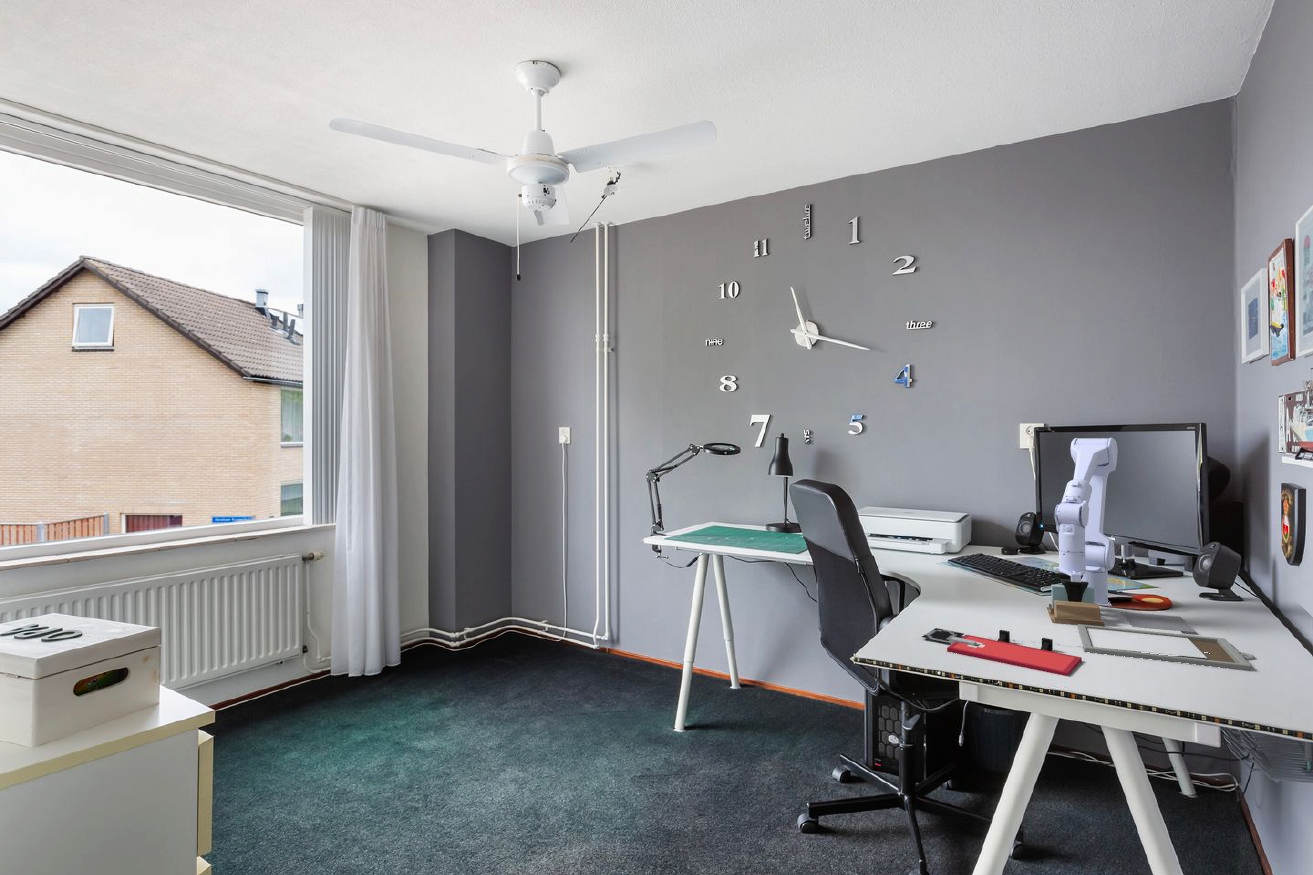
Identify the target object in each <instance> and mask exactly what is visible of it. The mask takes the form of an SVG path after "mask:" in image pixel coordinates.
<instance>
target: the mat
mask: <svg viewBox="0 0 1313 875" xmlns="http://www.w3.org/2000/svg"><path fill="white" fill-rule="evenodd" d="M1121 614H1122V615H1123V616H1124V617H1125V618H1126V620H1127V621H1128V623H1129V625H1131V627H1133V628H1138V629H1139V628H1140V629H1141V628H1142V629H1151V630H1164V631H1175V632H1180V633H1181V634H1185V633H1186V634H1185V635H1198V632H1197V630H1195V629H1194V628H1193V627H1192V626H1191V625H1190V624H1189V623H1188V622H1187V621H1186V620H1185V619H1183V618H1182V617H1181V616H1179V615H1177V616H1176V615H1166V614H1153V613H1152V614H1151V613H1138V612H1127V611H1121Z"/></svg>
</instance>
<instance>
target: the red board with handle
mask: <svg viewBox="0 0 1313 875" xmlns="http://www.w3.org/2000/svg"><path fill="white" fill-rule="evenodd" d="M998 634H999V635H998V636H999V637H998V639H997V640H996V639H990V638H986V637H980V636H977V635H970V634H965V633H964V632H958V631H954V630H948V629H942V628H938V627H935V628H934V629H932V630H930V631H929V632H927V633H925V634H923V635H922V636H921V638H925V639H930V640H933V641H940V642H944V643H948V644H950V645H949V646H947V648H946V652H947V653H951V652H952V653H953V654H956V653H957V654H956V655H962V656H967V657H970V658H976V659H981V660H984V661H990V662H997V663H1001V664H1005V665H1010V666H1015V667H1020V668H1025V669H1030V670H1033V671H1035V670H1036V671H1040V672H1043V673H1050V674H1053V675H1054V674H1055V675H1059V676H1064V677H1069V675H1070V674H1072V672H1073V671H1074V670H1075V669H1076V668H1077V667H1078V666H1079V665H1080V664H1081V662H1082V660H1083V658H1082V656H1078V655H1077V656H1076V655H1071V654H1067V653H1062V652H1056V651H1054V644H1053V643H1054V639H1052V638H1048V637H1041V646H1040V648H1036V647H1030V646H1026V645H1020V644H1015V643H1011V641H1010V637H1011V635H1010V634H1011V633H1010V631H1009V630H1005V629H1004V630H1003V629H999V632H998ZM1009 642H1010V643H1009ZM952 653H951V654H952ZM1078 664H1079V665H1078Z"/></svg>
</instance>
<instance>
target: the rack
mask: <svg viewBox="0 0 1313 875" xmlns="http://www.w3.org/2000/svg"><path fill="white" fill-rule="evenodd" d="M1046 610H1047V613H1048V615H1049V618H1050V620H1051V622H1052V624H1056V625H1067V626H1070V625H1071V626H1077V625H1078V624H1081V625H1092V626H1102V627H1107V626H1106V624H1105V621H1104V620H1103V619H1102V618H1101V617H1100V621H1098V620H1086V619H1075V618H1063V617H1055V616H1054V608H1052V603H1048V607H1047V606H1046Z"/></svg>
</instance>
